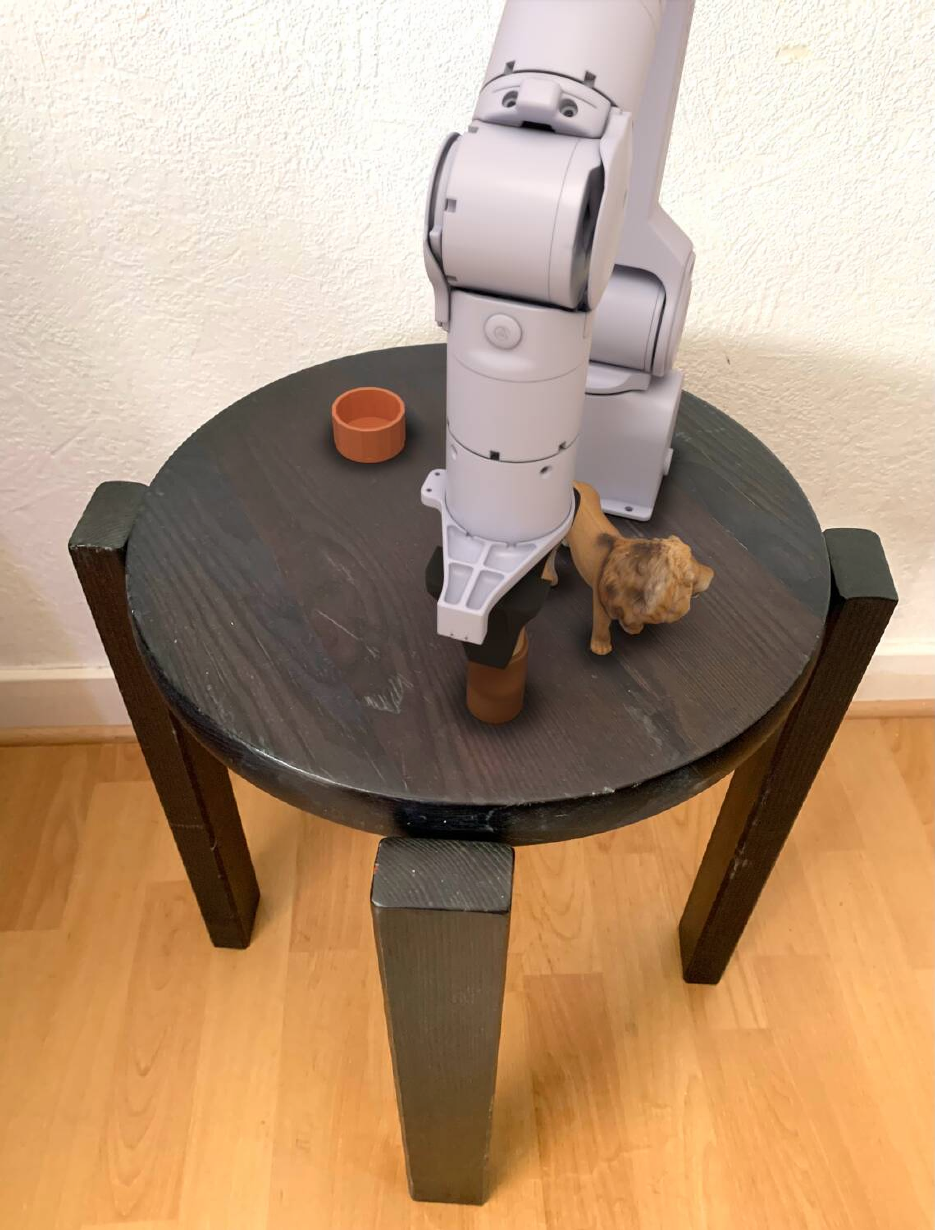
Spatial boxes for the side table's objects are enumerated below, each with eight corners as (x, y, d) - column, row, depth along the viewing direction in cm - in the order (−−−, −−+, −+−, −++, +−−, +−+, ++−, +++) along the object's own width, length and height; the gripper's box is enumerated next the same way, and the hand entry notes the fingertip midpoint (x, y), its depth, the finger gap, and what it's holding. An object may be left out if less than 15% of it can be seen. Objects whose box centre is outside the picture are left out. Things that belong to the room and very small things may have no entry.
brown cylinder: (529, 687, 59) (535, 626, 56) (514, 730, 57) (519, 670, 54) (475, 673, 60) (478, 612, 56) (458, 715, 58) (460, 655, 54)
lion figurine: (703, 661, 61) (736, 550, 54) (633, 700, 59) (658, 590, 52) (553, 516, 69) (566, 405, 62) (487, 546, 67) (493, 434, 60)
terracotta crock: (415, 427, 75) (414, 395, 73) (391, 469, 72) (389, 437, 70) (350, 413, 76) (348, 381, 74) (323, 454, 73) (320, 422, 71)
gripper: (474, 315, 50) (467, 524, 60) (362, 508, 40) (377, 718, 50) (619, 342, 48) (587, 552, 58) (539, 549, 39) (518, 757, 49)
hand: (499, 631), depth 54 cm, fingers open, 3 cm apart
